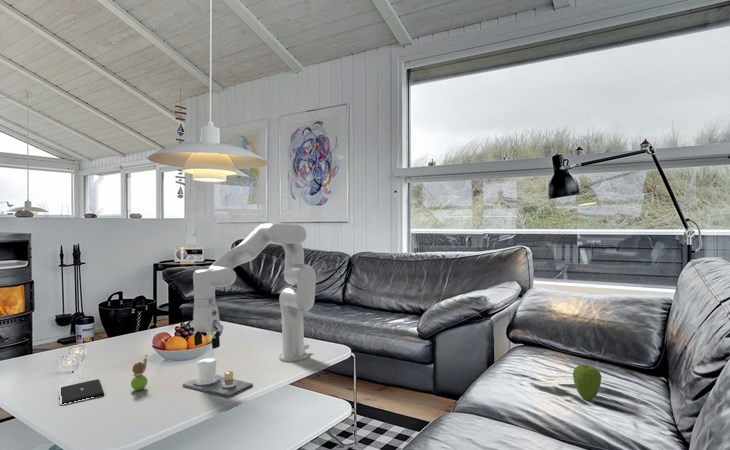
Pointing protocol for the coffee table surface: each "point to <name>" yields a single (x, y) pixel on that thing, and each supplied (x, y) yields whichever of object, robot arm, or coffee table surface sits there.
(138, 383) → the snail figurine
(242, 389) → the flange plate
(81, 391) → the laptop
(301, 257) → the robot arm
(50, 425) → the coffee table surface
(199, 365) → the shot glass
